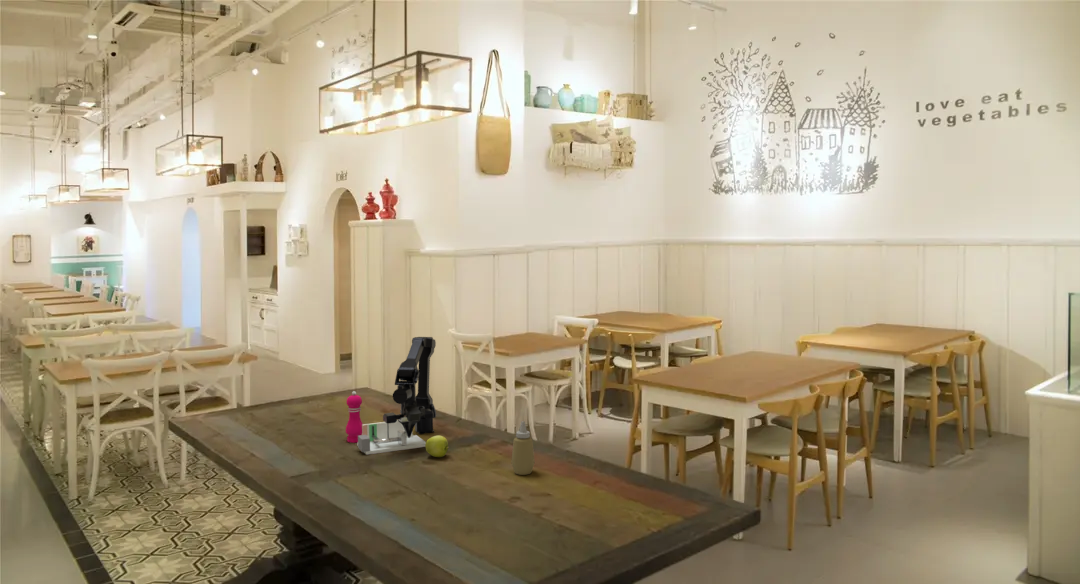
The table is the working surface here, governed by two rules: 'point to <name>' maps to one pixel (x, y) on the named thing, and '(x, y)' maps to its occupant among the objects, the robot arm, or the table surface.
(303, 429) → the table surface
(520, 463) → the squeeze bottle
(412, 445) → the gauge base
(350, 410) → the pepper mill
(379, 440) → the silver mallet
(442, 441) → the apple
